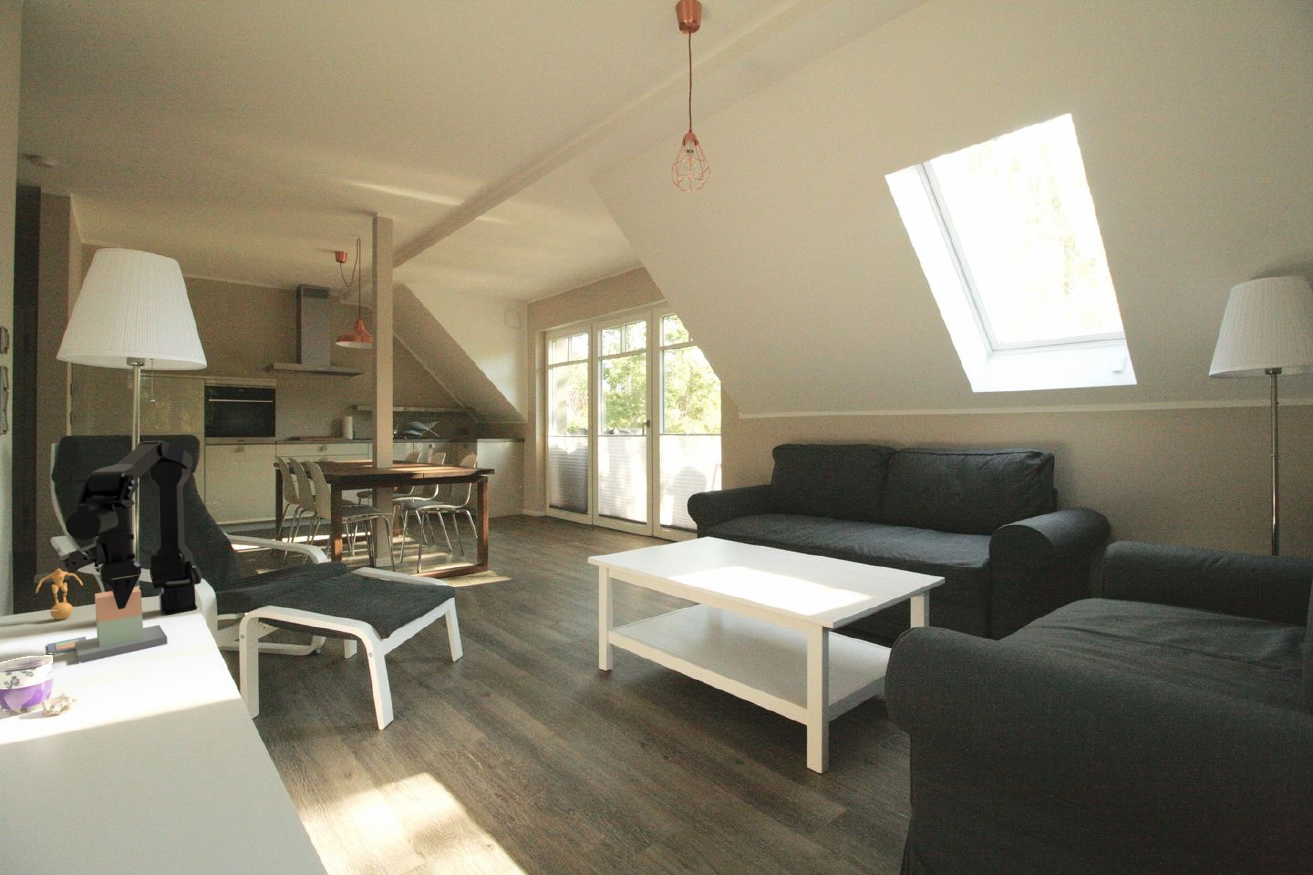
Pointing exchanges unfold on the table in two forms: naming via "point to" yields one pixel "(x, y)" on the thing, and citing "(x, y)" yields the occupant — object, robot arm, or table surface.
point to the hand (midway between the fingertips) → (119, 604)
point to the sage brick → (119, 630)
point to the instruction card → (63, 645)
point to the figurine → (64, 607)
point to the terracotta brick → (109, 609)
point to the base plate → (119, 645)
